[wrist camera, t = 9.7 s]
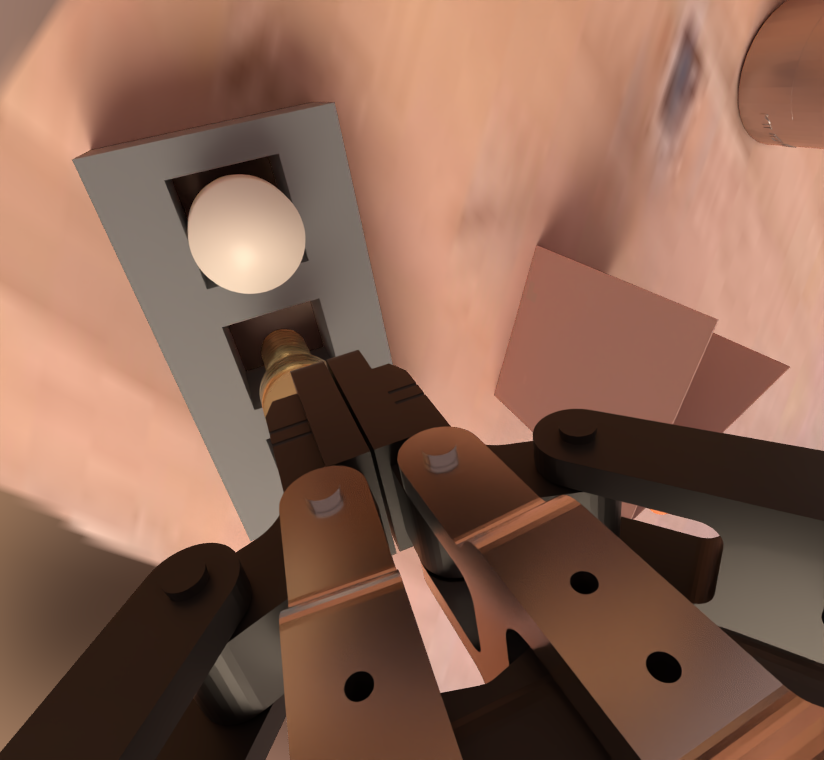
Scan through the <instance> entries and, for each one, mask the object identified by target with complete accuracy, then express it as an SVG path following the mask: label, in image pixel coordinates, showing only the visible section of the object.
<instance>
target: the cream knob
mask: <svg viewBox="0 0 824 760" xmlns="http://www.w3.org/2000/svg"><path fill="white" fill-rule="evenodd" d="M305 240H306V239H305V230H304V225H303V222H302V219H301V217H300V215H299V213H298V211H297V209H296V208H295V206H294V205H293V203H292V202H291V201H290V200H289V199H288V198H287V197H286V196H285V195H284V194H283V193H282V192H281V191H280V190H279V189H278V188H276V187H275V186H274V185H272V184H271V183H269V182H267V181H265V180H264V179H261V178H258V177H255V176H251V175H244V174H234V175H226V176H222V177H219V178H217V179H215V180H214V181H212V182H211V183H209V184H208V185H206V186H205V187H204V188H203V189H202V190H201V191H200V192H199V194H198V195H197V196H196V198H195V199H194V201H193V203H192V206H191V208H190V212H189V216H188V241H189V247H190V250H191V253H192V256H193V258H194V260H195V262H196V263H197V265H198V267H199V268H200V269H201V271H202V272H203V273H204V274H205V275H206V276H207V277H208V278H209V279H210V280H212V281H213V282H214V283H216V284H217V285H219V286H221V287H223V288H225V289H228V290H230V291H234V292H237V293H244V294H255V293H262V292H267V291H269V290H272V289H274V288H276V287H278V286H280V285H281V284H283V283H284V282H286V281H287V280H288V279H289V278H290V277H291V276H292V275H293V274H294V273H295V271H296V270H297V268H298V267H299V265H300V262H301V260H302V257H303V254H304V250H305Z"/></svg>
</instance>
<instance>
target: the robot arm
mask: <svg viewBox="0 0 824 760" xmlns="http://www.w3.org/2000/svg"><path fill="white" fill-rule="evenodd" d="M738 104H739V111H740V117H741V120H742V123H743V125H744V128H745V129H746V131H747V132H748V134H749V135H750V136H751V137H752V138H753V139H755V140H756V141H757V142H760V143H763V144H767V145H779V146H786V147H805V148H818V149H824V0H787V1H785V2H784V3H783V4H782V5H781V6H780V7H778V8H777V9H776V10H775V11H774V12H773V13H772V14H771V16H770V17H769V18H768V19H767V20H766V22H765V23H764V24H763V26H762V27H761V29H760V30H759V32H758V34H757V35H756V37H755V38H754V40H753V43H752V45H751V47H750V49H749V51H748V54H747V56H746V59H745V63H744V66H743V69H742V73H741V78H740V84H739V101H738ZM326 366H327V367H326ZM290 373H291V377H292V380H293V383H294V386H295V389H296V392H297V394H293V395H290V396H287V397H284V398H281V399H278V400H275V401H272V403H271V406H270V408H269V410H268V412H267V415H266V417H265V418H266V422H267V426H268V430H269V434H270V439H271V443H272V446H273V451H274V455H275V459H276V463H277V468H278V472H279V476H280V480H281V484H282V488H283V492H284V493H283V495H282V497H281V500H280V503H279V514H280V515H279V517H278V518H277V519H276V521H275V522H274V523H273V525H272V526H271V527H270V528H269V529H268V530H267V531H266V532H265V533H263V534H262V535H261V536H260V537H258V538H257V539H256V540H254V541H253V542H251V543H250V544H248V545H247V546H245V547H244V548H242V549H241V550H239V551H237V552H236V553H235V551H234V550H232V549H231V548H230V547H228V546H226V545H223V544H219V543H203V544H198V545H194V546H191V547H188V548H186V549H183V550H181V551H179V552H177V553H175V554H174V555H172V556H170V557H169V558H167V559H166V560H164V561H163V562H162V563H161V564H159V565H158V566H157V567H156V568H155V569H154V570H153V571H152V572H151V573H150V574H149V575H148V576H147V578H146V579H145V580H144V581H143V582H142V584H141V585H140V586H139V587H138V588H137V589H136V591H135V592H134V593H133V594H132V595H131V597H130V598H129V599H128V600H127V601H126V603H125V604H124V605H123V606H122V607H121V609H120V610H119V611H118V612H117V613H116V615H115V616H114V617H113V618H112V619H111V621H110V622H109V623H108V624H107V625H106V627H105V628H104V629H103V630H102V631H101V633H100V634H99V635H98V636H97V637H96V639H95V640H94V641H93V642H92V643H91V644H90V646H89V647H88V648H87V649H86V651H85V652H84V653H83V654H82V655H81V656H80V658H79V659H78V660H77V661H76V662H75V664H74V665H73V666H72V667H71V668H70V670H69V671H68V672H67V673H66V675H65V676H64V677H63V678H62V679H61V680H60V682H59V683H58V684H57V685H56V686H55V688H54V689H53V690H52V691H51V692H50V694H49V695H48V696H47V697H46V698H45V700H44V701H43V702H42V703H41V704H40V706H39V707H38V708H37V709H36V710H35V712H34V713H33V714H32V715H31V716H30V717H29V719H28V720H27V721H26V722H25V724H24V725H23V726H22V727H21V728H20V729H19V731H18V732H17V733H16V734H15V736H14V737H13V738H12V739H11V740H10V741H9V743H8V744H7V745H6V746H5V747H4V749H3V750H2V751H1V752H0V760H266V757H267V755H268V753H269V751H270V749H271V746H272V745H273V743H274V740H275V738H276V736H277V734H278V732H279V730H280V728H281V726H282V723H283V721H284V719H285V717H286V719H287V732H288V744H289V756H290V760H824V451H821V450H815V449H809V448H804V447H798V446H792V445H787V444H781V443H775V442H770V441H764V440H758V439H753V438H747V437H741V436H736V435H730V434H725V433H719V432H713V431H708V430H702V429H696V428H691V427H685V426H679V425H674V424H668V423H662V422H657V421H651V420H645V419H640V418H634V417H628V416H623V415H617V414H611V413H606V412H600V411H594V410H588V409H566V410H560V411H557V412H554V413H551V414H549V415H547V416H545V417H544V418H542V419H541V420H540V421H539V422H538V423H537V424H536V425H535V428H534V430H533V441H529V442H522V443H514V444H507V445H485V444H484V443H483V442H482V441H481V440H480V439H479V438H478V437H477V436H476V435H474V434H473V433H471V432H469V431H468V430H465V429H462V428H457V427H451V426H450V425H449V424H448V422H447V421H446V420H445V419H444V417H443V416H442V415H441V414H440V412H439V411H438V410H437V409H436V407H435V406H434V405H433V404H432V402H431V401H430V400H429V399H428V397H427V396H426V395H424V393H423V391H422V390H421V389H420V387H419V386H418V385H416V382H415V381H414V380H413V379H412V377H411V376H410V375H409V374H408V372H407V371H406V370H403V369H401V368H399V367H396V366H394V365H391V364H389V363H388V364H385V365H382V366H379V367H376V368H373V369H372V368H371V367H370V365H369V364H368V362H367V361H366V359H365V358H364V356H363V355H362V354H361V352H360V351H359V350H355V351H352V352H349V353H346V354H343V355H340V356H336V357H333V358H330V359H327V360H326V365H325V363H324V361H321V362H318V363H315V364H311V365H308V366H305V367H302V368H299V369H295V370H292V371H290ZM622 502H625V503H629V504H633V505H637V506H641V507H645V508H649V509H653V510H657V511H660V512H664V513H668V514H672V515H676V516H680V517H684V518H688V519H692V520H696V521H699V522H702V523H704V524H706V525H708V526H710V527H712V528H713V529H714V530H715V531H716V532H717V533H718V534H719V535H720V536H718V537H716V538H700V537H696V536H692V535H689V534H685V533H681V532H677V531H674V530H670V529H666V528H663V527H659V526H655V525H652V524H648V523H644V522H640V521H637V520H633V519H629V518H626V517H622V516H621V507H622ZM392 536H393V538H394V540H395V542H396V544H397V546H398V549H399V551H403V550H405V549H408V548H410V547H412V546H414V548H415V550H416V552H417V554H418V556H419V558H420V561H421V566H422V570H423V574H424V579H425V581H426V583H427V585H428V587H429V588H430V590H431V592H432V593H433V595H434V597H435V598H436V600H437V602H438V603H439V605H440V607H441V608H442V610H443V611H444V613H445V615H446V616H447V618H448V620H449V621H450V623H451V625H452V626H453V628H454V630H455V631H456V633H457V635H458V636H459V638H460V639H461V641H462V643H463V644H464V646H465V648H466V649H467V651H468V653H469V654H470V656H471V658H472V659H473V661H474V662H475V664H476V666H477V668H478V670H479V672H480V674H481V676H482V678H483V680H484V683H485V684H483V685H480V686H475V687H470V688H465V689H459V690H454V691H449V692H443V693H440V691H439V688H438V685H437V682H436V679H435V676H434V673H433V670H432V667H431V664H430V661H429V658H428V655H427V652H426V649H425V646H424V643H423V640H422V637H421V634H420V631H419V628H418V625H417V622H416V620H415V617H414V614H413V611H412V608H411V605H410V602H409V599H408V596H407V593H406V590H405V587H404V584H403V581H402V578H401V575H400V573H399V571H398V570H396V567H395V564H394V561H393V558H392V555H394V554H396V549H395V545H394V541H393V538H392Z"/></svg>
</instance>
